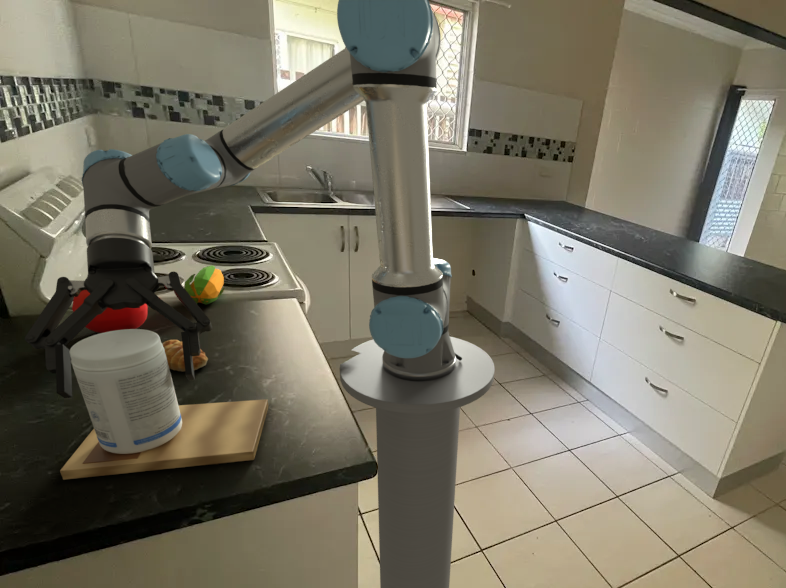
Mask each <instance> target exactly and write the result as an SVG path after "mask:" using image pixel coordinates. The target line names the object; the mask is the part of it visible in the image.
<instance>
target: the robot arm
mask: <svg viewBox="0 0 786 588" xmlns="http://www.w3.org/2000/svg"><path fill="white" fill-rule="evenodd" d="M336 19H337V26H338V31H339V33H340V37H341V40H342V42H343V44H344V48H343V49H341V50H340V51H338V52H337V53H336V54H334V55H332V56H331V57H330V58H328V59H327V60H325V61H323V62H321V63H320V64H319V65H317V66H315V67H314V68H313V69H311V70H310V71H308V72H306V73H305V74H304V75H302V76H301V77H299V78H298V79H295V80H294V81H293V82H292V83H290V84H288V85H287V86H286V87H284V88H282V89H281V90H279V91H278V92H276V93H275V94H273V95H272V96H271V97H269V98H268V99H266V100H264V101H263V102H261V103H260V104H258V105H256V107H254V108H252V109H251V110H249V111H247V112H246V113H245V114H243V115H242V116H240V117H238V118H237V119H235V120H234V121H232V122H231V123H229V124H227V126H225V127H224V128H223V129H221V130H220V131H218V132H216V133H214V134H213V135H212V136H210V137H208V138H207V139H205V140H204V139H202V138H199V137H198V136H196V134H192V133H185V134H182V135H179V136H175V137H169V138H166V139H164V140H163V141H162V142H160V143H158V144H156V145H153V146H151V147H149V148H147V149H144V150H141V151H139V152H137V153H135V154H131V153H128V152H126V151H123V150H119V149H114V148H110V149H108V150H103V149H96V150H92V151H91V152H90V153H88V154H87V155H86V156H85V157H84V159H83V167H82V169H83V170H82V176H81V184H82V187H83V188H82V189H83V190H82V191H83V206H84V219H85V244H86V247H87V248H86V261H87V262H86V264H87V276H86V278H85V279H84V280H75V279H74V280H71V279H69V277H66V276H61V277H58V278H57V280H56V285H55V292H54V294H53V295H52V297H51V298H50V299H49V301H48V302H47V303H46V305H45V307H44V308H43V310H42V311H41V312H40V314H39V315H38V317H37V318H36V320H35V322H34V323H33V325H32V326H31V328H30V329H29V330H28V331H27V333H26V335H25V337H24V341H25V342H26V343H27V344H28V345H30V346H31V347H32V348H34V349H36V350H40V349H44V356H45V357H44V358H45V368H46V370H47V371H48V372H49V373H51V374H55V380H56V381H55V384H56V389H55V390H56V394H58V395H60V397H62V398H63V399H69V398H73V383H72V382H73V381H72V380H73V379H72V363H71V356H70V349H69V348H68V347H67V345H68V344H69V343H70V342H71V341H72V340H74V338H76V337H77V335H79V334H80V333H81V332H82V331H83V330H84V329H85V328H86V326H87V325H88V324H89V323H90V322H91V321H92V320H93V319H94V318H95V317H96V316H97V315H99V314H102V313H103V312H104V311H105V310H106V309H107V308H112V309H113V310H118V309H123V308H140V306H142V305H144V304H147V307H148V308H151V310H153V311H155V312H157V313H159V314H160V315H161V316H163V317H164V318H166V319H167V320H168V321H169V322H171V323H172V324H173V325H175V326H176V327H177V328H178V329H180V330H181V332H180V334H181V335H180V336H181V341H182V345H183V355H184V364H185V371H184V373H185V377H186V378H187V380H188V381H195V380H196V379H195V370H194V368H193V359H192V356H200V353H201V350H202V349H201V342H200V336H201V334H203V333H205V332H208V333H209V332H210V331H212V330H213V325H212V322H211V319H210V318H209V316H207V314H206V313H205V312H204V311H203V309H202V308H201V307H200V306H199V304H196V302H195V301H194V300H193V299H192V297H191V296H190V295H189V294H188V292H187V291H186V290H185V289H184V286H183V284H182V281H181V279H180V276H179V273H178V272H177V271H170V272H169V273H168V275H163V276H161V275H160V276H157V275H156V274H155V263H154V255H153V254H154V253H153V250H152V248H153V241H152V234H151V222H150V221H151V220H150V211H151V210H152V209H155V208H158V207H161V206H163V205H166V204H168V203H170V202H173V201H175V200H179V199H181V198H183V197H186V196H190V195H195V194H198V193H202V192H207V191H211V190H214V189H220V188H224V187H233V186H236V185H238V184H240V183H242V182H244V181H245V180H247V179H248V178H249V177H250V176H251V173H252V172H254V170H256V169H258V168H259V167H261V166H262V165H264V164H265V163H267V162H268V161H270V160H273V158H275V157H277V156H278V155H279V154H281V153H284V152H285V151H286V150H288V149H289V148H291V147H292V146H294V145H296V144H297V143H299V142H300V141H302V140H304V139H305V138H307V137H308V136H310V135H311V134H313V133H315V132H316V131H318V130H320V129H321V128H323V127H324V126H326V125H328V124H329V123H331V122H333V121H335V120H336V119H337V118H339V117H340V116H342V115H343V114H345V113H346V112H347V113H348V112H349V111H350V110H352V109H353V108H355V107H357V106H359V105H360V104H361V103H363V102H365V108H366V109H365V110H366V119H367V120H366V121H367V130H368V131H367V132H368V133H367V134H368V143H369V157H370V165H371V167H370V168H371V177H372V186H373V187H372V189H373V201H374V212H375V223H376V234H377V235H376V236H377V247H378V258H379V266H378V267H377V268H376V269H375V270H374V271H373V273H372V274H371V285H372V298H373V308H372V310H371V312H370V315H369V322H368V328H369V333H370V336H371V338H372V339H373V340H374V341H375V343H376V344H377V345H378V346H379V347H380V348H382V349H383V350H384V353H383V356H382V359H383V368H384V370H385V371H386V372H387V373H388V374H390V375H392V376H394V377H396V378H399V379H403V380H408V381H430V380H436V379H439V378H442V377H445V376H447V375H448V374H450V373H451V372H452V371H453V370H454V368H455V362H456V358H457V359H458V360H460V361H461V360H462V358H461V357H460V356H459V355H457V354H456V353H455V352H454V349H453V346H452V342H451V339H450V337H451V335H450V332H449V326H450V324H449V323H450V303H451V301H450V300H451V283H452V281H451V280H452V278H453V275H452V267H451V264H450V262H448V261H446V260H444V259H440V258H435V257H434V253H433V252H434V251H433V250H434V249H433V227H432V203H431V179H430V178H431V177H430V153H429V129H428V127H429V126H428V107H427V106H428V103H429V102H430V100H431V99H432V98H433V97H434V95H436V93H437V89H438V88H437V87H438V86H437V59H438V57H439V54H440V50H441V45H442V44H441V43H442V41H441V40H442V39H441V37H442V35H441V29H440V25H439V22H438V19H437V16H436V15H435V13H434V11H433V9H432V6H431V2H430V1H429V0H338V1H337V8H336ZM160 286H163V287H165V289H166V291H167V290H168V291H172V292H173V293H174V295H175V296H176V298H177V299H178V300H179V302H180V303H181V304H182V305H183V307H184V308H185V309H186V311H188V313H189V314H190V315H191V316H192V318H193V319H194V320H195V322H192V321H191V320H190V319H189V318H188V317H186V316H185V315H183V314H182V313H180V312H179V311H177V309H175V308H174V307H173V306H171V305H170V304H168V303H167V302H166V301H164V300H163V299H162V298H160V297H159V296H158V295H157V294H156V292H157V291H158V289H160ZM83 290H87V291H88V292H89V293H90V295H89V296H87V297H86V298H85V299H84V302H83V304H82V305H81V306H80V307H79V308H77V309H76V310H75V311H74V312H73V311H72V312H71V314H70V315H69V316H68V317H67V318H66V319H64V317H65V315H66V314H67V312H68V311H69V309H70V308H71V307H72V306H71V305H73V299H74V297H78V296H79V294H80V292H81V291H83ZM63 319H64V320H63ZM62 320H63V321H62ZM61 321H62V322H61ZM200 349H201V350H200Z"/></svg>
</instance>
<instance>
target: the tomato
mask: <svg viewBox="0 0 786 588" xmlns="http://www.w3.org/2000/svg"><path fill="white" fill-rule="evenodd" d="M89 295H90V293H89V292H88V291H87V290H83V291H81V292H80V294H79V296H78V297H74V299H73V302H72V304H71V305H72V306H71V310H72V313H73V312H74V311H75V310H76V309H77V308H79V307H80V306H81V305H82V304H83V302H84V299H85V298H86V297H87V296H89ZM148 308H149V306H148V305H147V304H144V305H142V306H140V308H123V309H118V310H113V309H112V308H107V309H106V310H105V311H104V312H103V313H102V314H99V315H97V316H96V317H95V318H94V319H93V320H92V321H91V322H90V323H89V324H88V325H87V326H86V327H85V328H86V329H87V330H89V331H92V332H94V333H97V334H100V333H105V332H110V331H116V330H124V329H139V328H140V327H141V326H143V324H144V323H145V322H146V320H147V319H148V311H149V309H148Z"/></svg>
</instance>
